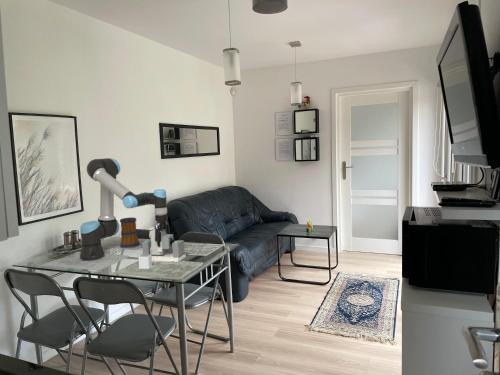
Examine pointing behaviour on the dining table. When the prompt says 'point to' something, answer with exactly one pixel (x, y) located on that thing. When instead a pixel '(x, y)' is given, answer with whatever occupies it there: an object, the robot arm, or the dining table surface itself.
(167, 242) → the circuit breaker
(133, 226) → the mug
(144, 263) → the block
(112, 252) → the dining table surface
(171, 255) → the rail plate
